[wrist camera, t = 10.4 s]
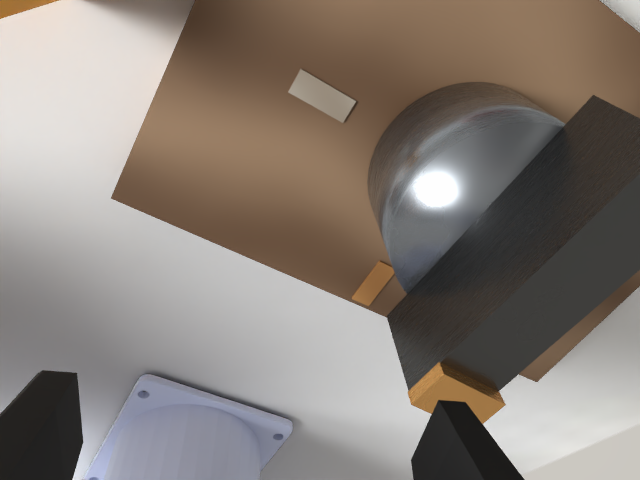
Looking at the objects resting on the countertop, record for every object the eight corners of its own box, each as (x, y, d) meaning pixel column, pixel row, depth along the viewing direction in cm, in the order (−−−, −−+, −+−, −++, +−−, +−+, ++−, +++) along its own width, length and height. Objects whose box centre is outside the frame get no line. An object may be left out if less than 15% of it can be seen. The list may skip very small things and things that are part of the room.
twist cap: (608, 131, 17) (802, 248, 11) (449, 293, 20) (528, 458, 14) (472, 15, 15) (619, 76, 9) (317, 217, 18) (340, 372, 12)
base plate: (523, 358, 25) (537, 383, 24) (122, 179, 18) (109, 199, 17) (751, 136, 19) (786, 151, 18) (296, -226, 13) (298, -244, 12)
